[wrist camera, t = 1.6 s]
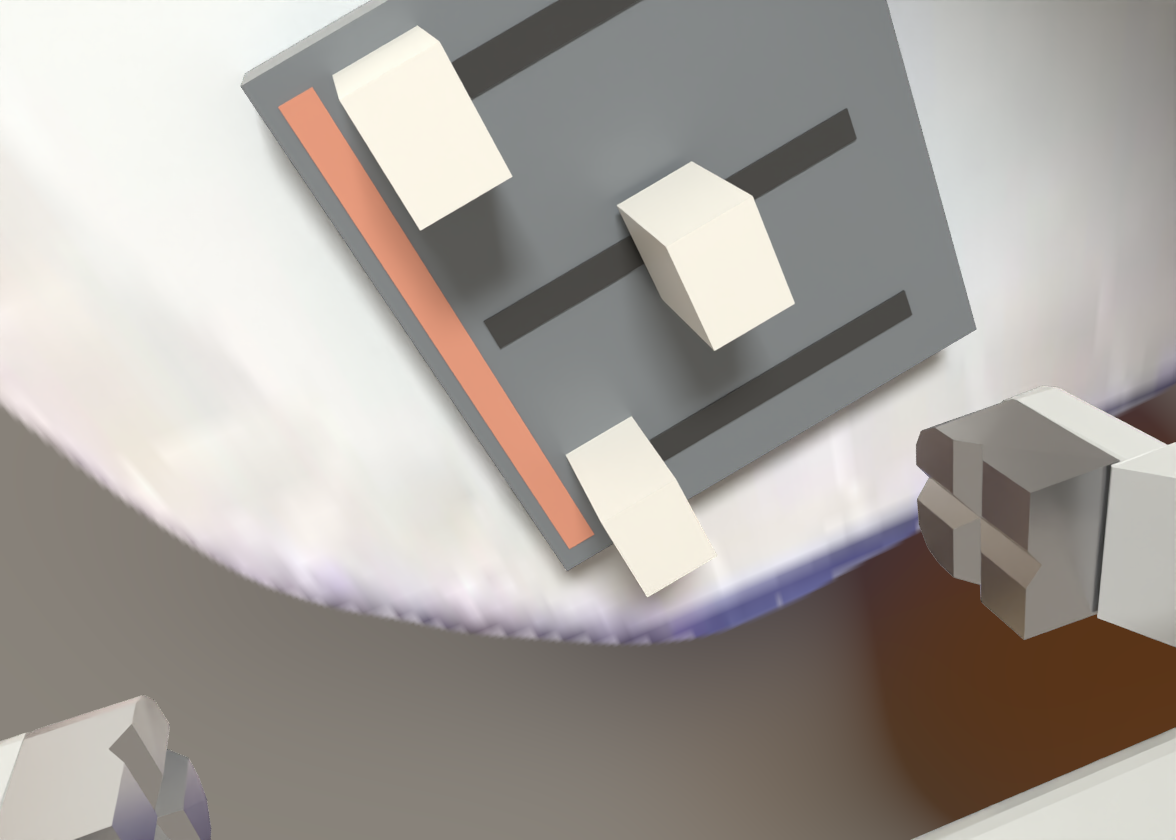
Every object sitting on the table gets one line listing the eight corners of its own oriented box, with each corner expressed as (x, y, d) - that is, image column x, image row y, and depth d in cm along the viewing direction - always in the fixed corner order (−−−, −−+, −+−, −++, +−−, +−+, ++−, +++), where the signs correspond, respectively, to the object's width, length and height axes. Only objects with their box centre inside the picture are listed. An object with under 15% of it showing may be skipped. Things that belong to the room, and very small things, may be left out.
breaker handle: (691, 161, 32) (752, 195, 28) (732, 257, 34) (794, 303, 30) (616, 205, 32) (665, 246, 28) (662, 299, 34) (714, 350, 30)
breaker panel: (773, -235, 31) (911, -284, 24) (934, 305, 42) (1059, 377, 35) (244, 73, 31) (230, 113, 24) (550, 532, 42) (600, 648, 35)
